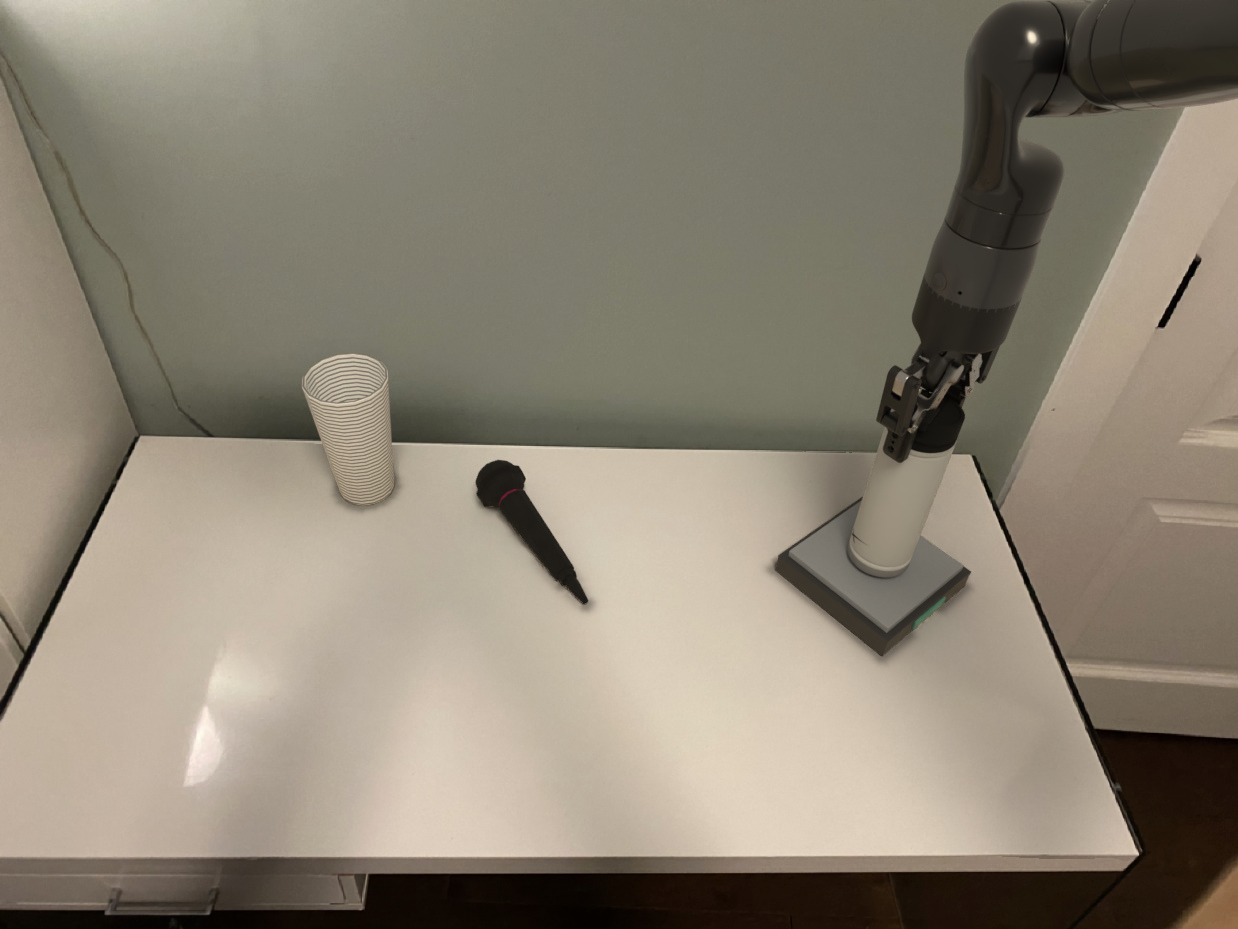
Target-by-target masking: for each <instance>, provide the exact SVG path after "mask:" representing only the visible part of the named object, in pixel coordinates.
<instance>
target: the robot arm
mask: <svg viewBox="0 0 1238 929" xmlns="http://www.w3.org/2000/svg"><path fill="white" fill-rule="evenodd" d="M963 68H964V69H963V125H962V126H963V127H962V142H961V154H960V155H961V156H960V164H959V171H958V174H957V177H956V179H955V183H954V185H953V190H952V193H951V197H950V200H949V203H948V206H947V209H946V212H945V215H944V218H943V221H942V224H941V226H940V228H939V229H938V232H937V233H936V236H935V239H934V241H933V244H932V246H931V250H930V254H929V257H928V260H927V264H926V267H925V270H924V273H923V275H922V279H921V283H920V286H919V289H918V293H917V296H916V299H915V303H914V306H913V309H912V312H911V324H912V325H913V328H914V330H915V331H916V333H917V335H918V338H919V340H920V344H918V347H916V348H915V349H916V350H915V351H914V353H913V355H912V356H911V362H910V365H909V366H907V367H906V368H902V367H900V366H898V365H896V364H894V365H892V367H891V368H890V369H889V370H888V371H887V374H886V378H885V383H884V386H883V390H882V394H881V397H880V398H881V399H880V401H879V402H880V403H879V406H878V411H877V415H876V419H875V421H876V422H877V423H878V424H880V425H881V426H883V427H884V428H885V427H886V428H888V429H889V430H888V433H887V436H886V439H885V442H884V446H883V452H884V453H885V454H886V455H887V456H889V457H890V458H892V459H893V460H895V461H896V462H898V463H902V462H903V461H905V460H906V459H907V458H908V456H909V453H910V450H911V447H912V444H913V442H914V439H915V436H916V433H917V429H918V427H919V425H920V424H921V422H922V420H923V419H924V417H925V415H926V414H927V412H928V411H934V410H935V409H936V408H937V407H938V405H939V404H940V402H941V400H942V399H943V397H945V398H947V399H948V400H949V399H951V400H953V401H955V402H956V403H958V404H959V405H960V406H961V408H962V409H963V406H964V404H965V400H966V399H967V397H969V396H971V395H972V393H973V392H974V391H975V387H976V386H975V384H976V383H978V384H979V385H981V384H983V383H984V382H985V381H986V380H987V378H988V376H989V373H990V371H991V368H992V366H993V363H994V362H995V359H996V357H997V355H998V352H999V350H1000V348H1001V346H1002V345H1003V344H1004V342H1005V341H1006V339H1007V337H1008V334H1009V332H1010V330H1011V326H1012V324H1013V322H1014V319H1015V317H1016V315H1017V312H1018V309H1019V306H1020V304H1021V302H1022V299H1023V297H1024V294H1025V291H1026V289H1027V287H1028V284H1029V281H1030V279H1031V276H1032V274H1033V271H1034V269H1035V264H1036V262H1037V256H1038V253H1039V247H1040V244H1041V242H1042V238H1043V236H1044V234H1045V231H1046V229H1047V226H1048V224H1049V220H1050V218H1051V216H1052V213H1053V210H1054V208H1055V205H1056V202H1057V200H1058V198H1059V195H1060V192H1061V190H1062V187H1063V184H1064V179H1065V170H1066V169H1065V163H1064V161H1063V159H1062V158H1061V156H1060V155H1059V154H1058V153H1057V152H1056V151H1054V150H1053V149H1052V148H1050V147H1048V146H1046V145H1043V144H1042V143H1040V142H1039V143H1038V142H1036V141H1032V140H1030V139H1027V138H1026V139H1025V138H1022V137H1020V129H1021V126H1022V123H1023V121H1024V119H1025V118H1082V117H1085V118H1086V117H1096V116H1106V115H1112V114H1113V115H1114V114H1117V113H1118V114H1119V113H1121V112H1134V111H1135V112H1136V111H1153V110H1167V109H1168V110H1169V109H1179V108H1191V107H1200V106H1207V105H1214V104H1219V103H1224V102H1229V101H1234V100H1238V0H1012V1H1008V2H1005V3H1003V4H1001V5H999V6H997V7H996V8H995V9H993V10H992V11H991V12H990V13H988V15H987V16H986V17H985V18H984V19H983V20H982V21H981V23H980V24H979V25H978V27H977V29H976V30H975V32H974V34H973V36H972V37H971V40H970V42H969V45H968V48H967V50H966V54H965V58H964V67H963ZM980 363H981V364H980ZM922 389H924V390H927V391H929V393H933V394H932V396H931V397H930V398H926V397H925V396H923V395H921V394H920V393H921V391H922ZM915 404H917V406H918V409H917V410H916V412H915V414H914V415H913V417H912V414H913V411H914V407H915Z"/></svg>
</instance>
